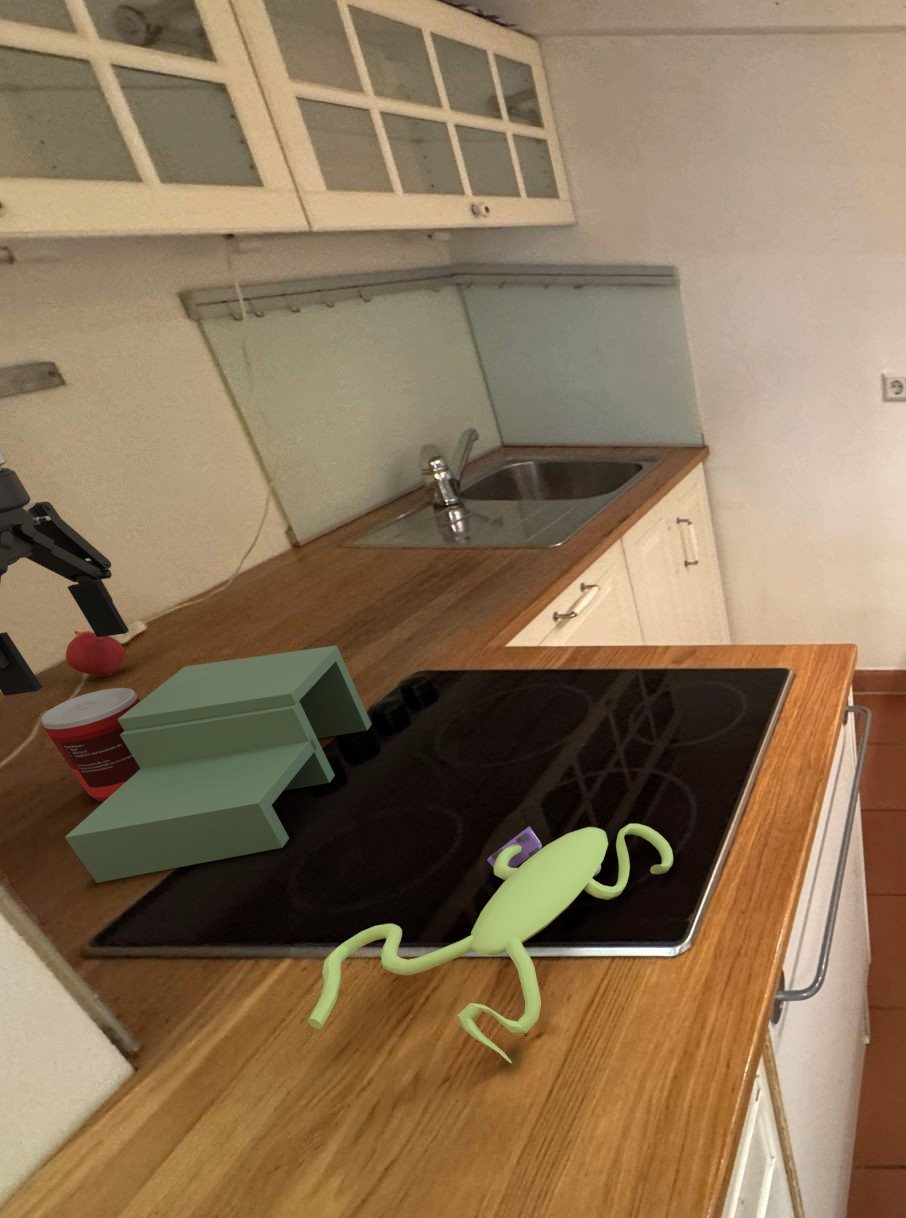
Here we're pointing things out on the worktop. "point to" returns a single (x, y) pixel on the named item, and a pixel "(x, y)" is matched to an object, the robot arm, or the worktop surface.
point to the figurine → (509, 915)
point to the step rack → (219, 761)
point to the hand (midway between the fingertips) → (71, 661)
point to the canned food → (94, 739)
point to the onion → (94, 654)
